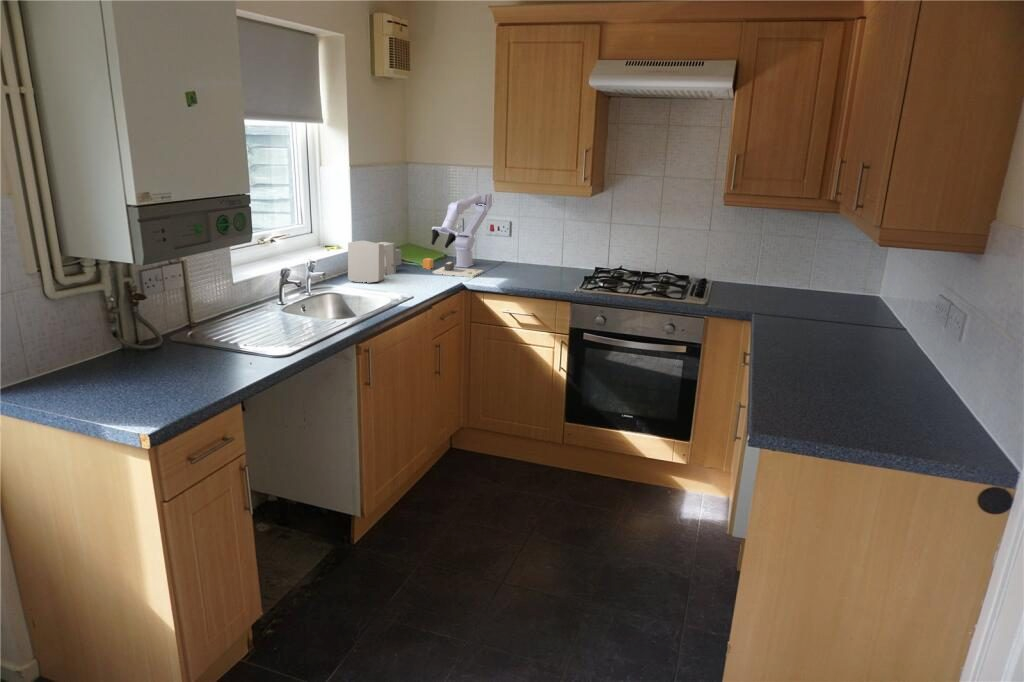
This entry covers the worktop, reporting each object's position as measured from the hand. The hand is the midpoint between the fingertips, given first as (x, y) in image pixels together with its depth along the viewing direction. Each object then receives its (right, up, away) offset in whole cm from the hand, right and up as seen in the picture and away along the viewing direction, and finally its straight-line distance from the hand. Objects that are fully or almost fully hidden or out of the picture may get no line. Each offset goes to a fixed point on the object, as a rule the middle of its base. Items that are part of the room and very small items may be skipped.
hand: (439, 245), depth 344 cm
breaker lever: (+5, -11, +4) cm, 13 cm away
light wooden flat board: (+9, -13, +3) cm, 17 cm away
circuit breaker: (-25, -14, +1) cm, 29 cm away
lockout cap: (-7, -10, +13) cm, 18 cm away
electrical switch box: (-32, -19, -17) cm, 41 cm away
